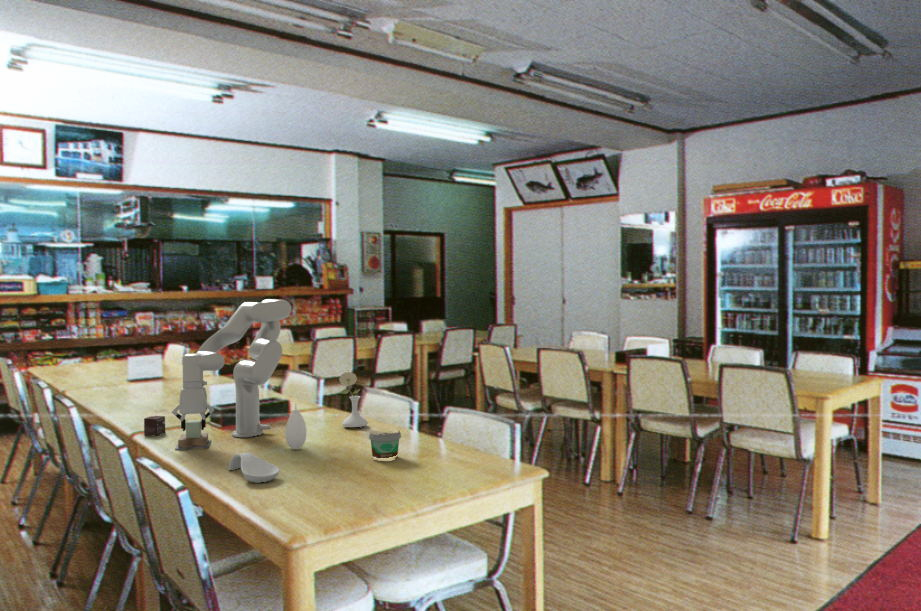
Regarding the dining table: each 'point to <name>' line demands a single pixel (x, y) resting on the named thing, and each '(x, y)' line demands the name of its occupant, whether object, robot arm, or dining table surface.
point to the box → (154, 425)
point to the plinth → (193, 442)
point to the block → (193, 429)
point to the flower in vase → (354, 418)
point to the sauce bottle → (295, 430)
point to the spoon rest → (253, 467)
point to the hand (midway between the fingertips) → (193, 429)
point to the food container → (385, 444)
